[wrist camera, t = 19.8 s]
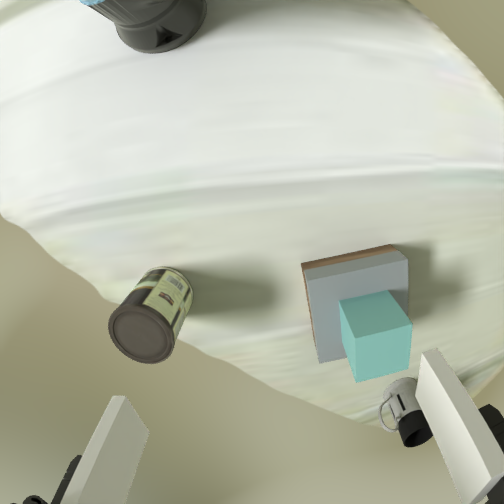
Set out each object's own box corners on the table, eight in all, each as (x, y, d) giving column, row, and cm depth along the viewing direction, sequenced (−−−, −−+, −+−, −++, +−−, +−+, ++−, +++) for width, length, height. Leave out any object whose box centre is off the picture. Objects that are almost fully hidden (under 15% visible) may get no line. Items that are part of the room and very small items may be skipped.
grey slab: (303, 270, 48) (307, 280, 44) (398, 250, 46) (407, 259, 42) (316, 349, 53) (319, 363, 49) (398, 330, 51) (406, 342, 47)
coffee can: (137, 308, 55) (107, 351, 42) (143, 259, 52) (108, 296, 39) (188, 323, 56) (169, 372, 42) (198, 275, 52) (178, 318, 39)
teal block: (338, 300, 45) (354, 338, 35) (387, 289, 44) (412, 323, 35) (342, 341, 47) (355, 382, 38) (387, 331, 47) (408, 368, 37)
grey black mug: (402, 404, 62) (421, 449, 48) (358, 398, 61) (372, 448, 47) (422, 379, 60) (446, 423, 45) (378, 371, 58) (398, 421, 44)
